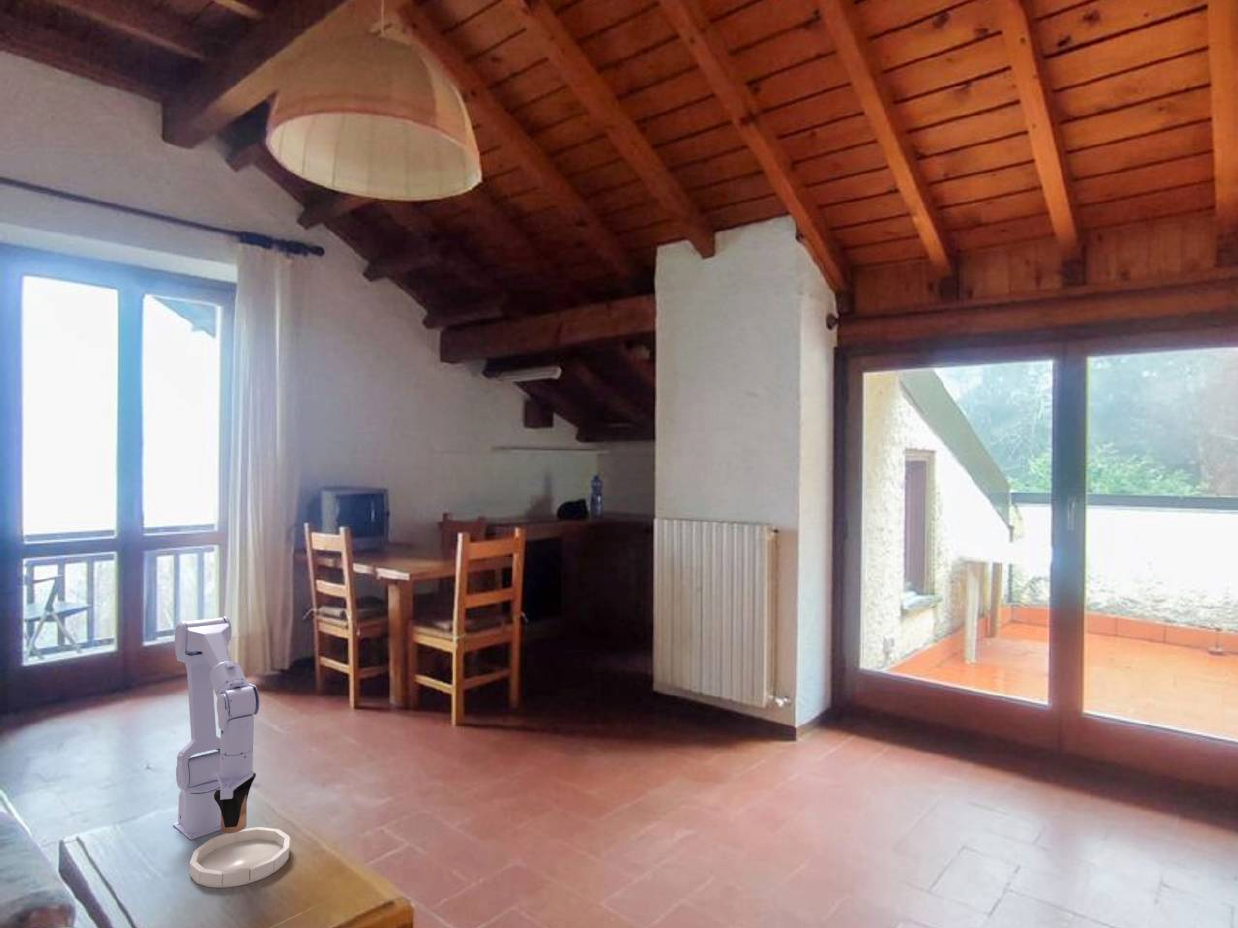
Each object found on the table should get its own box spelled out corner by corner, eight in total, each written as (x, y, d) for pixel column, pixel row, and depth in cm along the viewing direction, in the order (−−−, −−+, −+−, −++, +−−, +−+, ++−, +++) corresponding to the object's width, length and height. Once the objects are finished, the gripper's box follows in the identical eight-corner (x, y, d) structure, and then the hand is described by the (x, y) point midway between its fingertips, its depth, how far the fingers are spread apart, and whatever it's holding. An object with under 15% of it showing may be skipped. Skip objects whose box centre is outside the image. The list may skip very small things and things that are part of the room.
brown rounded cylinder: (216, 828, 141) (217, 797, 141) (240, 819, 144) (240, 789, 144) (226, 835, 138) (227, 804, 138) (250, 826, 141) (250, 796, 141)
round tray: (175, 864, 140) (176, 850, 140) (264, 831, 153) (264, 819, 153) (214, 899, 130) (214, 884, 130) (305, 860, 143) (305, 847, 143)
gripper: (223, 737, 147) (221, 804, 147) (202, 766, 133) (200, 840, 133) (261, 735, 149) (259, 801, 149) (245, 763, 135) (242, 836, 135)
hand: (234, 820), depth 141 cm, fingers closed on brown rounded cylinder, 4 cm apart
